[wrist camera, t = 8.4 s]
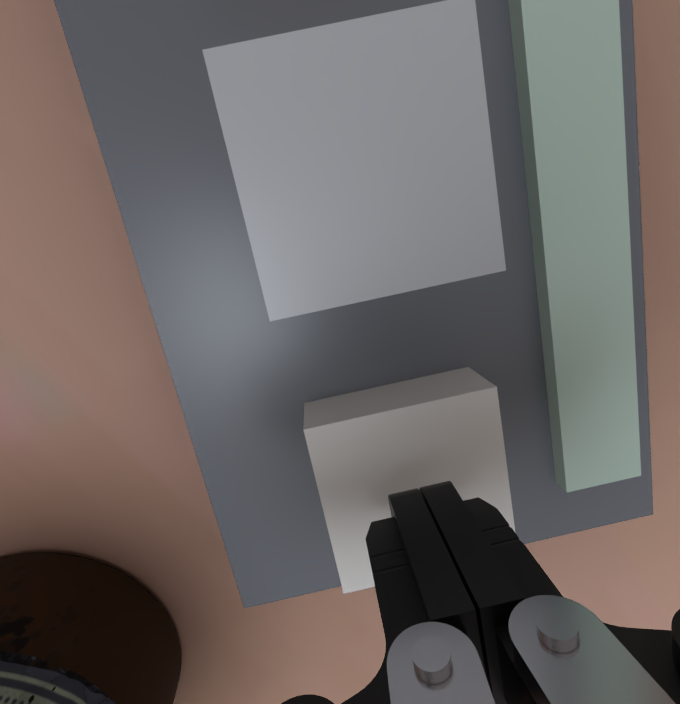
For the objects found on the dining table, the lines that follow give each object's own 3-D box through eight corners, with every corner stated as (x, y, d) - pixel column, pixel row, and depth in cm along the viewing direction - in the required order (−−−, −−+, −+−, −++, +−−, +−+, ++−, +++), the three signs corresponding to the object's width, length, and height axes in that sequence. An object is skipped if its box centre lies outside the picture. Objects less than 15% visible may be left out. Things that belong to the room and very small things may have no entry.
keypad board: (252, 565, 16) (241, 623, 14) (7, -252, 11) (-88, -412, 8) (612, 483, 16) (667, 525, 14) (558, -354, 11) (634, -541, 8)
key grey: (277, 309, 11) (269, 321, 9) (224, 91, 10) (202, 49, 8) (470, 267, 11) (505, 270, 9) (441, 46, 10) (474, -5, 8)
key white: (338, 546, 14) (343, 593, 12) (304, 402, 13) (303, 429, 11) (489, 511, 14) (518, 553, 12) (468, 366, 13) (496, 386, 11)
